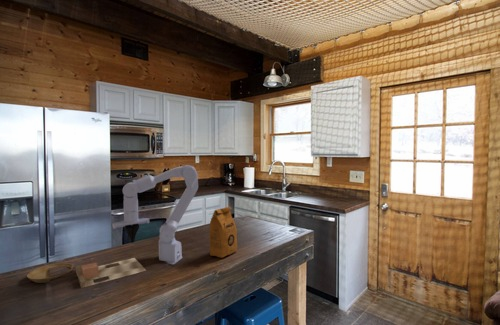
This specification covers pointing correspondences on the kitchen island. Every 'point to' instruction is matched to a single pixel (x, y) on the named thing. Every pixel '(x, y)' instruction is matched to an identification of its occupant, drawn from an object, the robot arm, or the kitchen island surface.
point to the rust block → (89, 270)
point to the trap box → (112, 271)
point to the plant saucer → (46, 273)
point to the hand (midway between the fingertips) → (131, 242)
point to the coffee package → (222, 233)
